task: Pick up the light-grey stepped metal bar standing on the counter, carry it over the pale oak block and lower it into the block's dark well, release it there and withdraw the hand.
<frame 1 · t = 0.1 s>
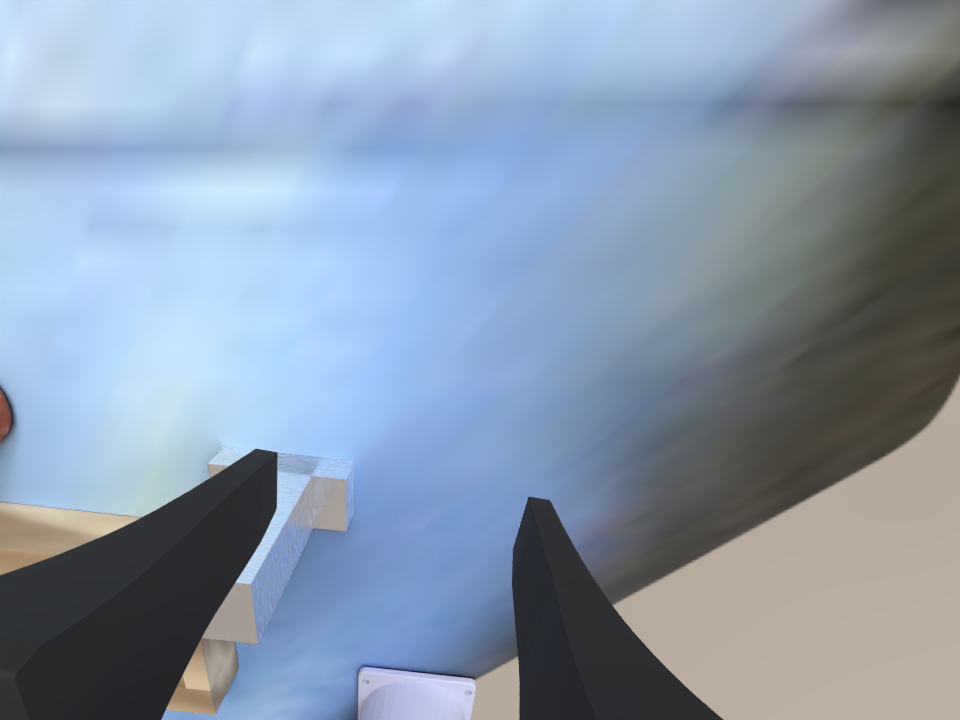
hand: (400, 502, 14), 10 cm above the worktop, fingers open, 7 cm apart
well block: (118, 591, 30), on the worktop
stepped metal bar: (290, 480, 26), on the worktop
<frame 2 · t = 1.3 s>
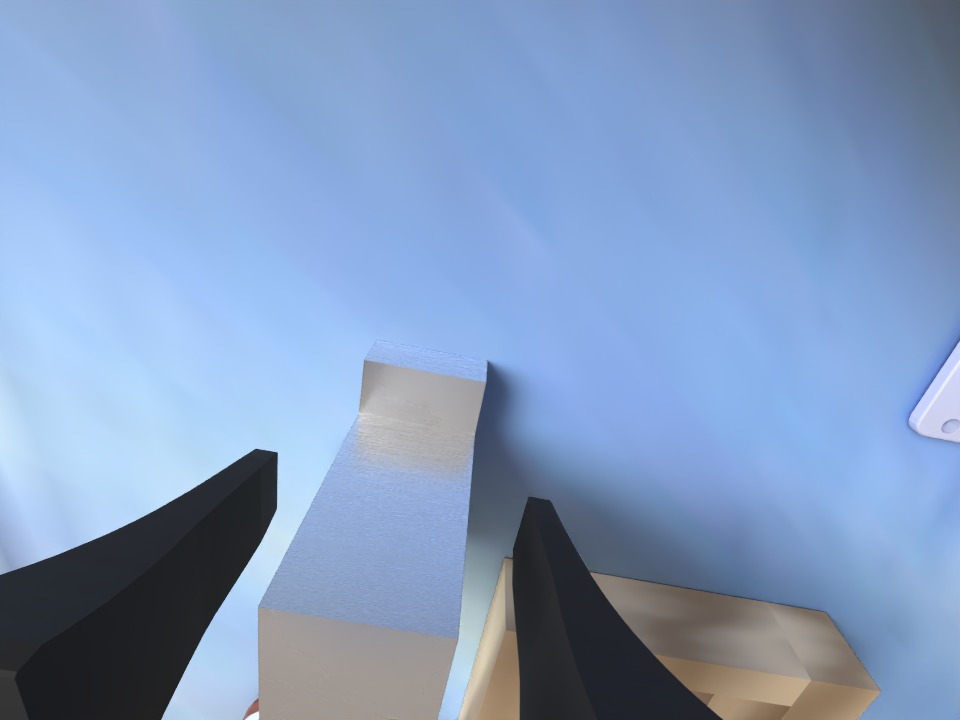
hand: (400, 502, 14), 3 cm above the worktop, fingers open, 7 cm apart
well block: (613, 693, 21), on the worktop
stepped metal bar: (417, 442, 16), on the worktop
supplement bottle: (311, 713, 23), on the worktop
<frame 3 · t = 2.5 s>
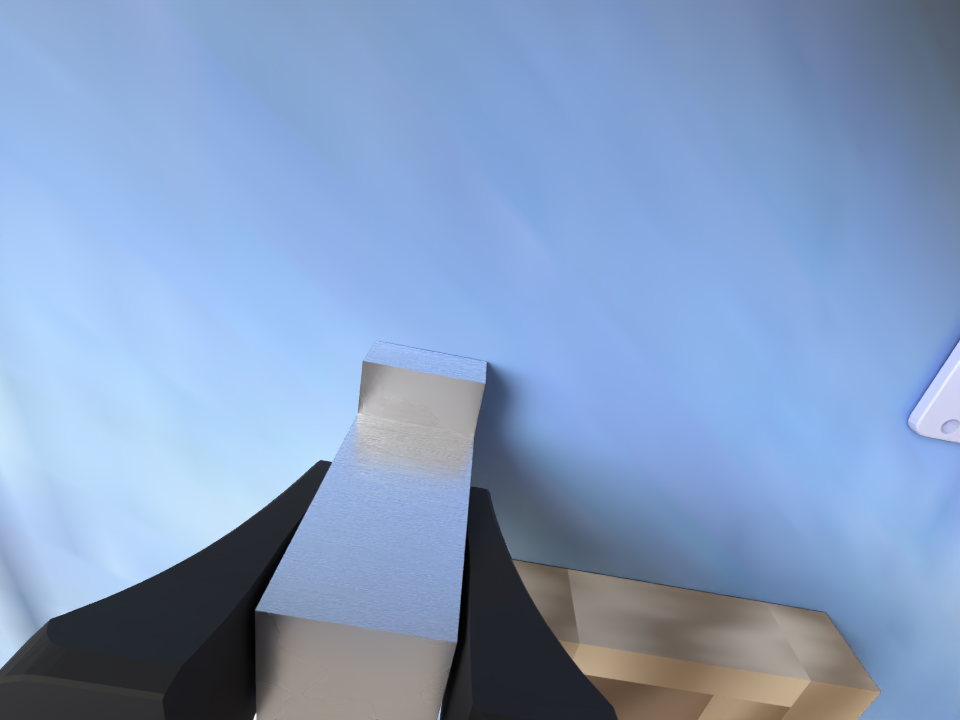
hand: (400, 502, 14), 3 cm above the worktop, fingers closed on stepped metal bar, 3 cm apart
well block: (613, 694, 21), on the worktop
stepped metal bar: (416, 443, 16), on the worktop, touching gripper
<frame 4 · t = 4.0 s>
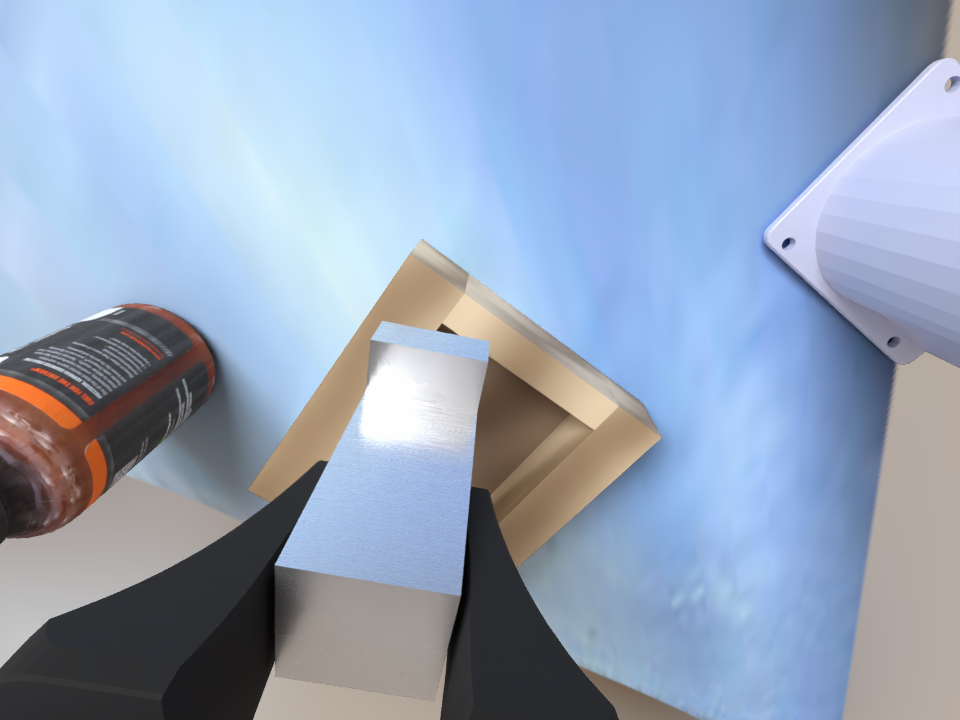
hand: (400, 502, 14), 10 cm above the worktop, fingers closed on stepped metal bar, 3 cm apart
well block: (450, 428, 24), on the worktop
stepped metal bar: (421, 420, 17), point 6 cm above the worktop, touching gripper
supplement bottle: (162, 356, 23), on the worktop
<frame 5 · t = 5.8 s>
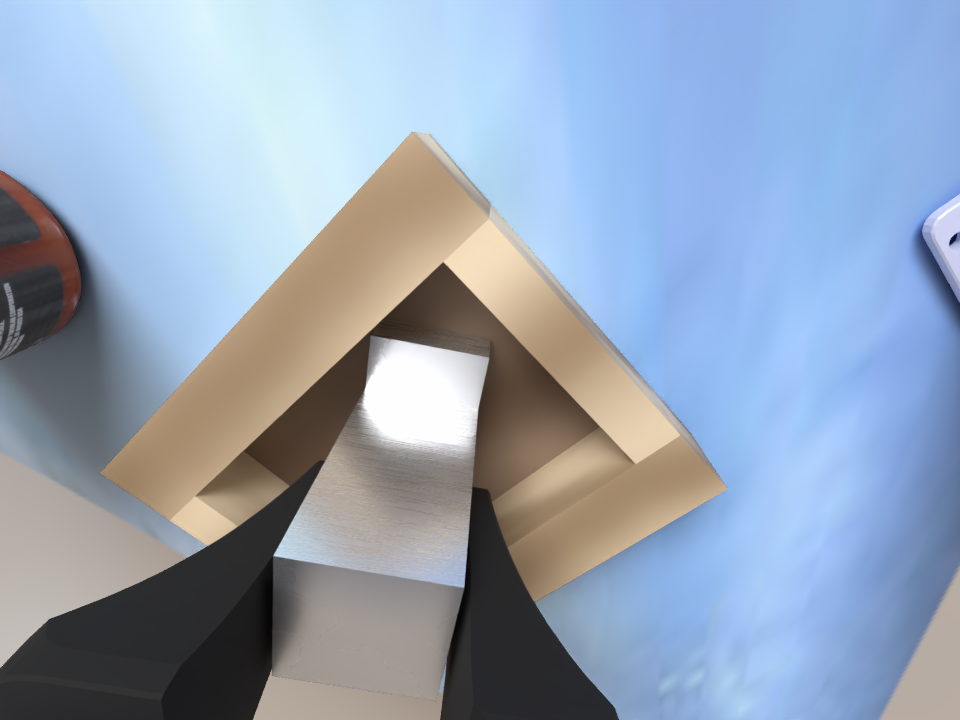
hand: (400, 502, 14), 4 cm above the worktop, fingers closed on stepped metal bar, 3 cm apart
well block: (421, 427, 17), on the worktop
stepped metal bar: (421, 420, 17), resting on well block, touching gripper
supplement bottle: (2, 250, 15), on the worktop
when the fingers open (4 cm above the worktop, at t = 6.5 s): stepped metal bar stays where it is, resting on well block.
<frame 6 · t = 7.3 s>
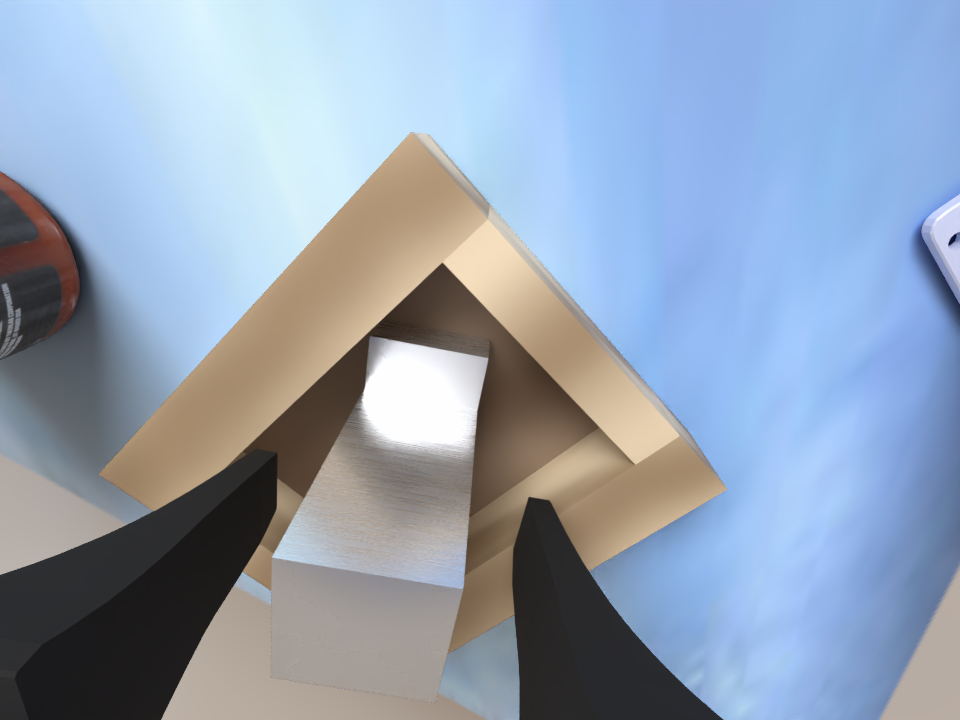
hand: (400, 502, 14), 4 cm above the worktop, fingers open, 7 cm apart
well block: (420, 427, 17), on the worktop
stepped metal bar: (420, 420, 17), resting on well block
supplement bottle: (0, 251, 15), on the worktop
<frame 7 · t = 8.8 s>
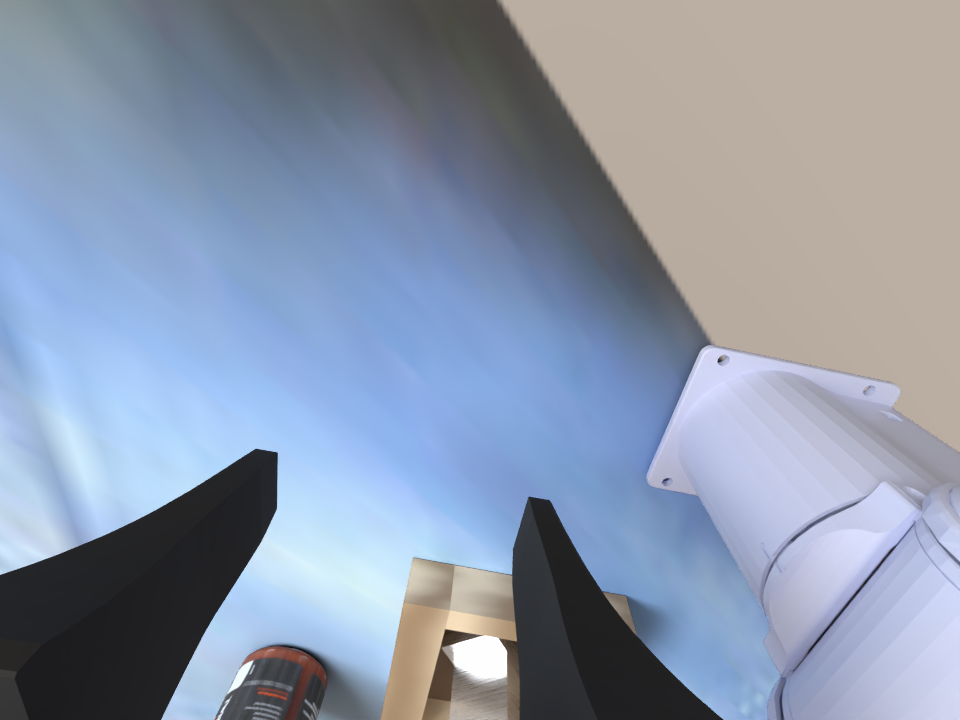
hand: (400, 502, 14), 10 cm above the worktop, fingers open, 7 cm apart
well block: (495, 651, 31), on the worktop
stepped metal bar: (492, 651, 31), resting on well block
supplement bottle: (288, 666, 33), on the worktop
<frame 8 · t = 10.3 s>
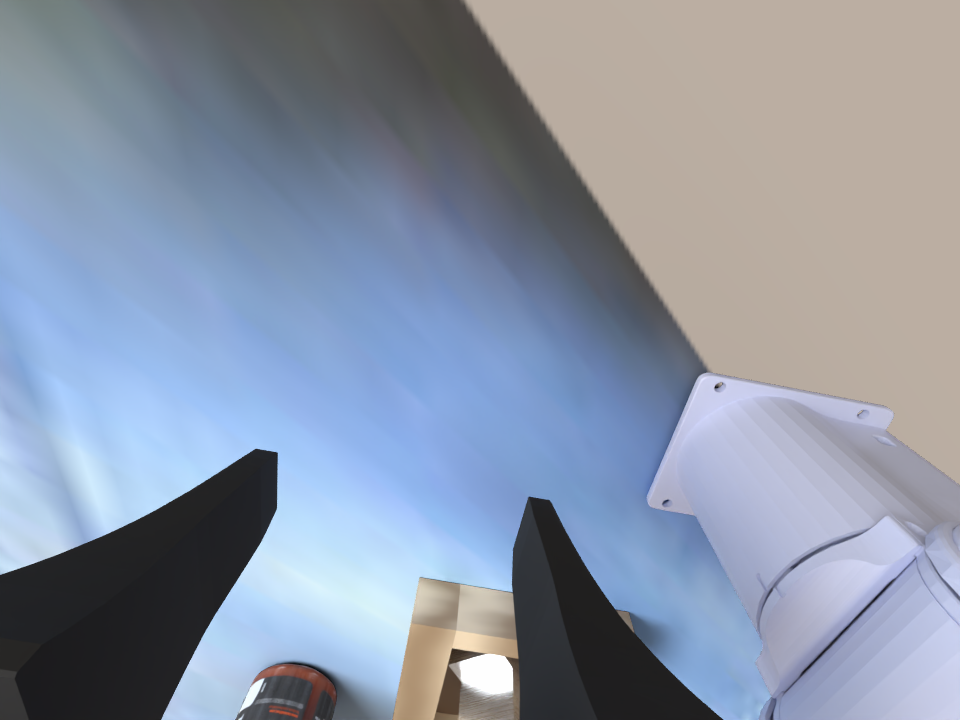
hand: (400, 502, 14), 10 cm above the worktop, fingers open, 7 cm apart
well block: (501, 667, 32), on the worktop
stepped metal bar: (498, 667, 31), resting on well block
supplement bottle: (298, 682, 34), on the worktop
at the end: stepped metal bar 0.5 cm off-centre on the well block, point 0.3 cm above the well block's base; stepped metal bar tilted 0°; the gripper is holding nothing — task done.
